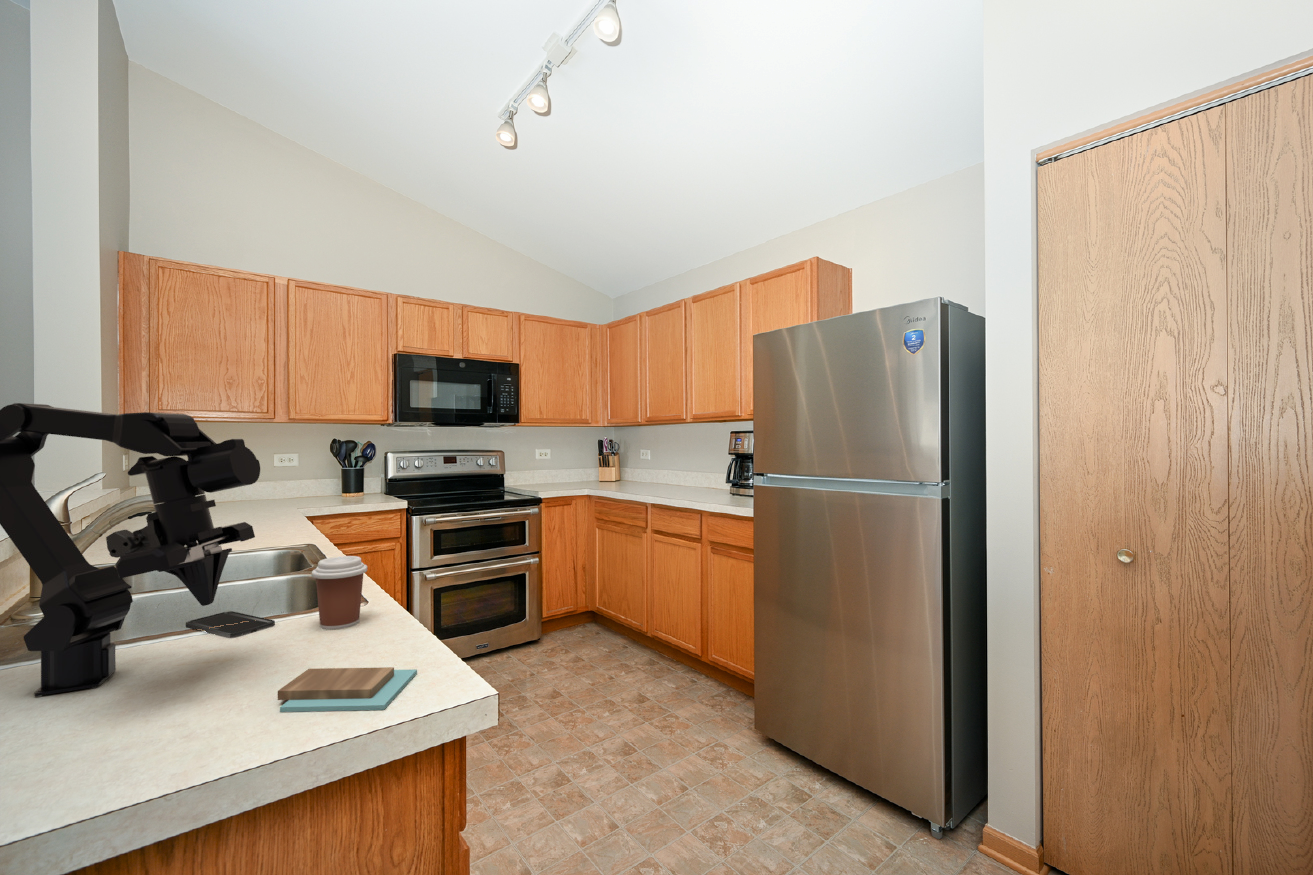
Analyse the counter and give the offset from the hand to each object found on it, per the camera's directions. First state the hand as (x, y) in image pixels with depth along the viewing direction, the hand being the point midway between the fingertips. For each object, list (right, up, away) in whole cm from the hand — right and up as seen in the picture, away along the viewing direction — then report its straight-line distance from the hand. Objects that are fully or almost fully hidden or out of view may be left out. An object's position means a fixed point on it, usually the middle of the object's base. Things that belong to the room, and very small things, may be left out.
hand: (207, 604), depth 80 cm
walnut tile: (+15, -10, -4) cm, 18 cm away
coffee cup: (+5, -11, +24) cm, 27 cm away
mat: (+23, -11, -4) cm, 26 cm away
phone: (-14, -11, +23) cm, 29 cm away
